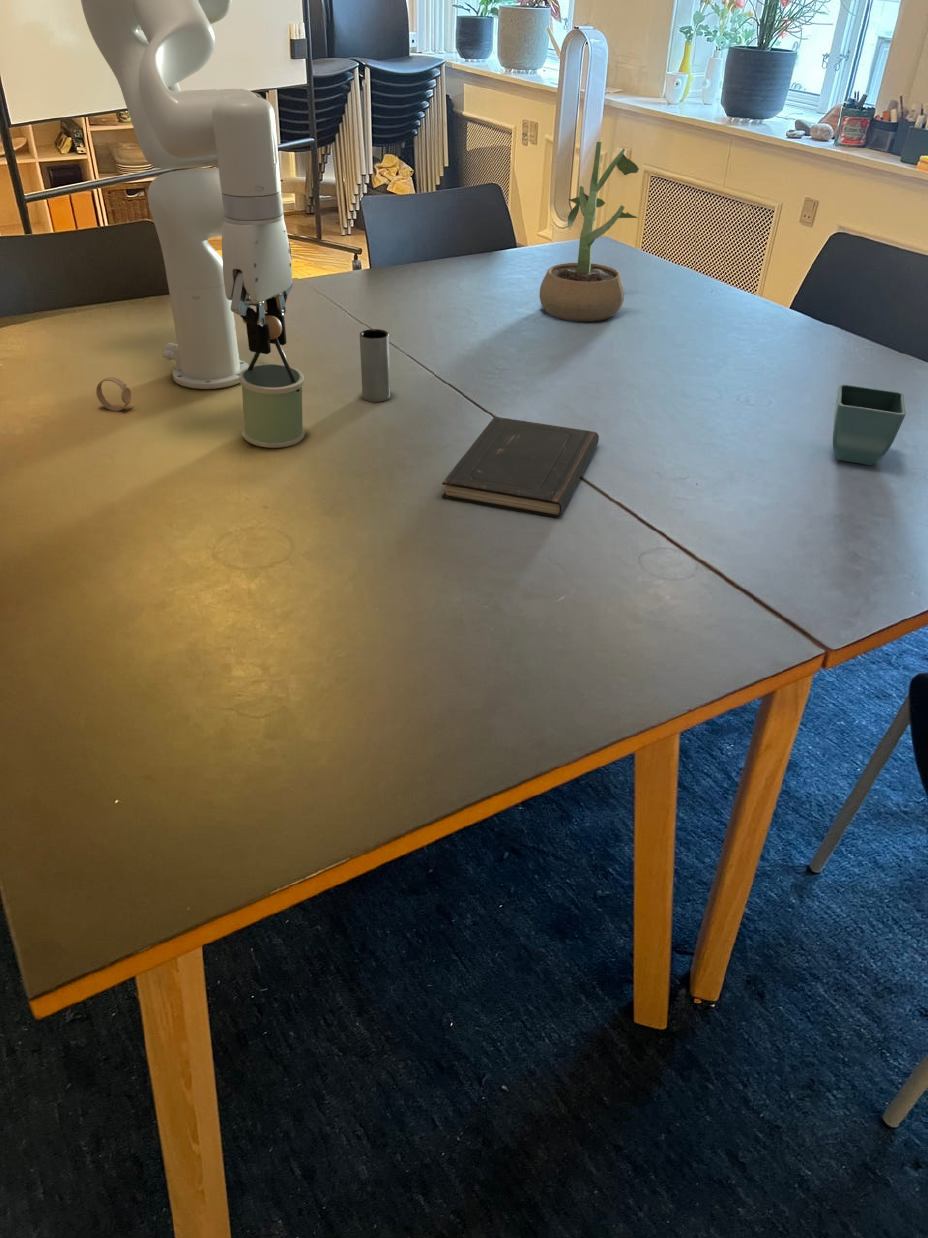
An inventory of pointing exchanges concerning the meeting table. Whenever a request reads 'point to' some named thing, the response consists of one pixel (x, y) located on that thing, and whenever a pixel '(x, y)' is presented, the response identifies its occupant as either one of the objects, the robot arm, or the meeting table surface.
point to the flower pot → (866, 423)
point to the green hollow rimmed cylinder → (272, 399)
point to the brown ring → (124, 394)
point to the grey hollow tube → (375, 365)
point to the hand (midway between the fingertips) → (268, 346)
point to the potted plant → (587, 260)
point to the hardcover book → (522, 466)
